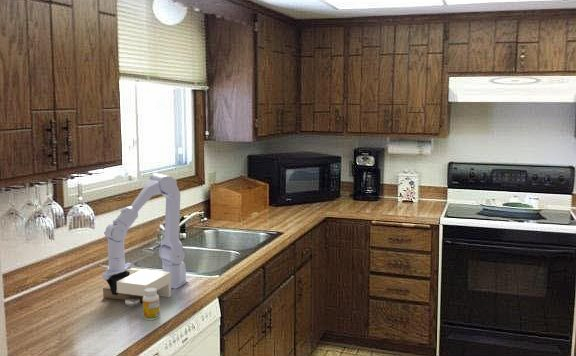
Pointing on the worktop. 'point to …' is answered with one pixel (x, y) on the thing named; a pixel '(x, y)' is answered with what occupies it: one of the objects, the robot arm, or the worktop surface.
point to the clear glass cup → (132, 301)
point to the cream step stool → (146, 283)
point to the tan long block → (108, 294)
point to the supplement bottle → (151, 304)
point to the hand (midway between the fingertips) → (118, 292)
